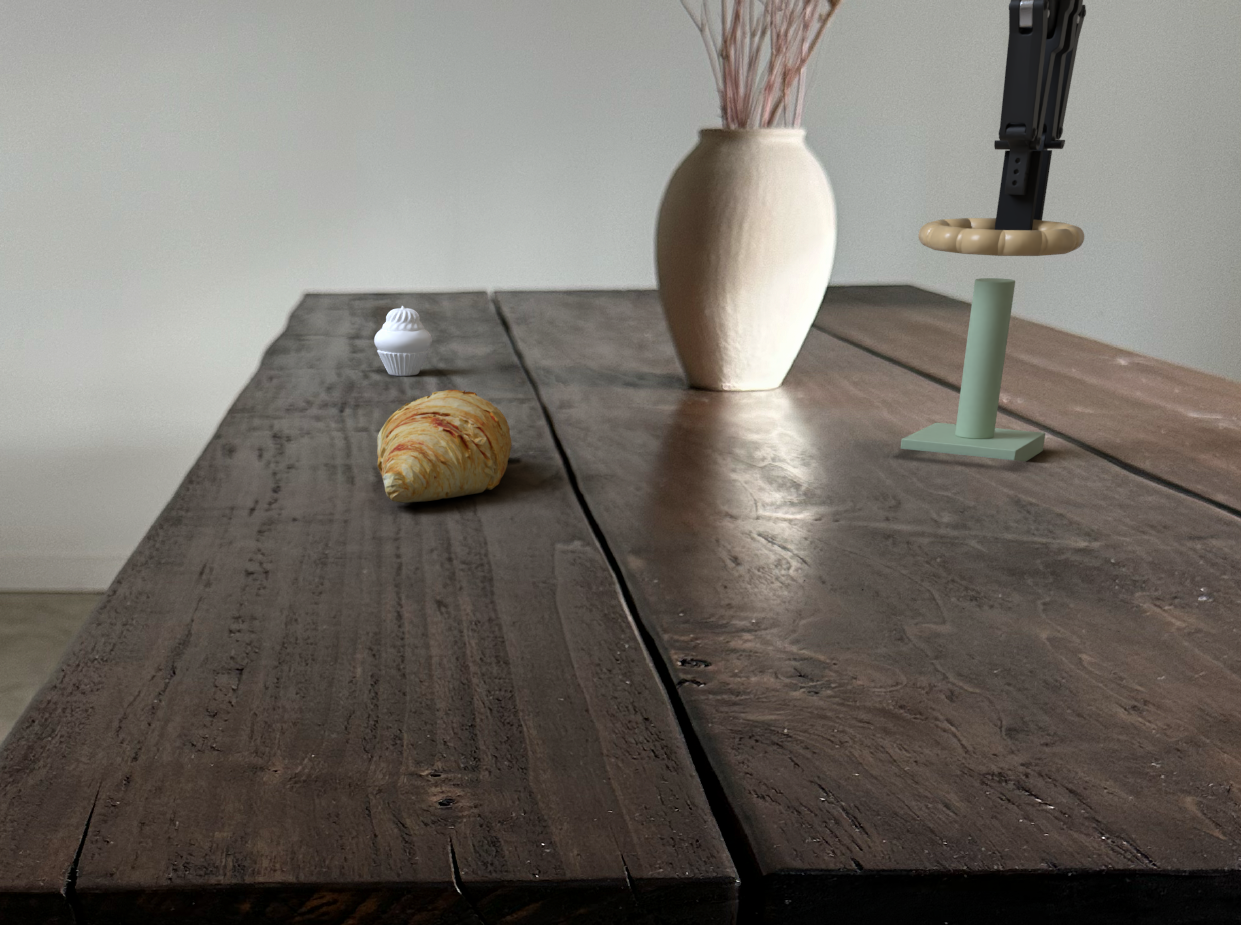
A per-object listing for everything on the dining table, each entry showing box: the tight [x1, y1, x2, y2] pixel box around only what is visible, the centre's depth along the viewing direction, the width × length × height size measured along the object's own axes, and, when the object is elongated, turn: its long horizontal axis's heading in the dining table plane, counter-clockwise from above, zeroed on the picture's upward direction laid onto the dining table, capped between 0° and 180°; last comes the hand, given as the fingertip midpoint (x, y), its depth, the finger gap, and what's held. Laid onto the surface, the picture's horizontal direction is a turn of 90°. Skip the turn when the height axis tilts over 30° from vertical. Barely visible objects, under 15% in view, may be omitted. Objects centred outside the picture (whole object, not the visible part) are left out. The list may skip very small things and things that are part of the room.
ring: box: [918, 217, 1085, 257], centre depth 123 cm, size 12×12×2 cm
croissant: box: [376, 389, 512, 503], centre depth 118 cm, size 21×10×8 cm, turn 162°
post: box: [900, 277, 1046, 462], centre depth 127 cm, size 9×9×14 cm
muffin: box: [373, 305, 433, 377], centre depth 170 cm, size 6×6×7 cm
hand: (1016, 238), depth 127 cm, fingers closed on ring, 2 cm apart
